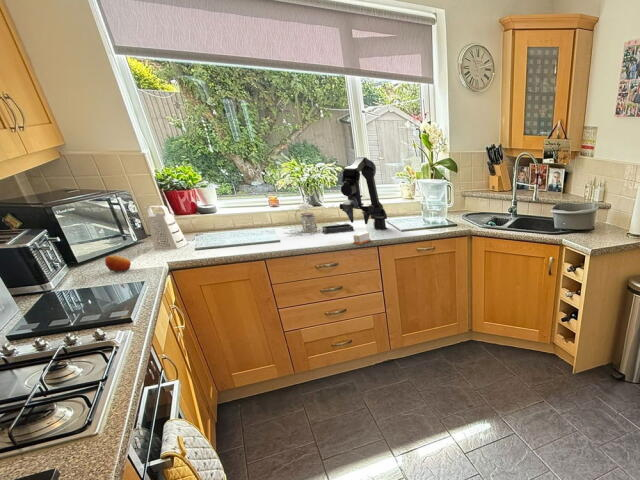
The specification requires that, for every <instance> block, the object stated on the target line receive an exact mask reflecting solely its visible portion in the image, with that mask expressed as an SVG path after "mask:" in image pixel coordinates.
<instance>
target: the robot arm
mask: <svg viewBox="0 0 640 480" xmlns="http://www.w3.org/2000/svg"><path fill="white" fill-rule="evenodd" d="M376 173H377V167H376V164H375V163H374V161H372V160H370V159H369V158H368V157H366V156H357V157H356V159H355V161H354V162H353V163H352V164H351V165H348V166H346V167H344V168H343V171H342V176H341V177H342V179H341V183H343V184H342V186H341V187H340V192H341V194H342V195H343V196H345V197H347V199H346V200H345V201H343V202H341V203H339V205H338V206H339V210H342V212H344V213H345V214H346V216H347V217H348V219H349V221H350V223H351V224H353V223H354V210H361V211H362V212H361V214H362V216H363V220H364V225H368V223H369V219H371V220H373V221H372V224H373V229H375V230H377V231H380V230H387V229H388V227H387V225H386V224H387V223H386V220H387V219H388V215H387V212H386V210H385V208H384V205H383V204H382V203H381V202H380V198H379V195H378V189H377V185H376V179H375V176H376ZM361 175H362V177H363V178H364V179H365V182H366V186H367V191H368V196H369V199H370V204H364V202H362V198H363V194H361V188H360V179H361Z"/></svg>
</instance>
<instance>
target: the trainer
mask: <svg viewBox="0 0 640 480" xmlns="http://www.w3.org/2000/svg"><path fill="white" fill-rule="evenodd" d="M352 236H353V244H356V245H362V244H364V243H367V242H370V241H371V238H370V237H371V236H370V232H369V231H361V232H359V233H355V234H353V235H352Z"/></svg>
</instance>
